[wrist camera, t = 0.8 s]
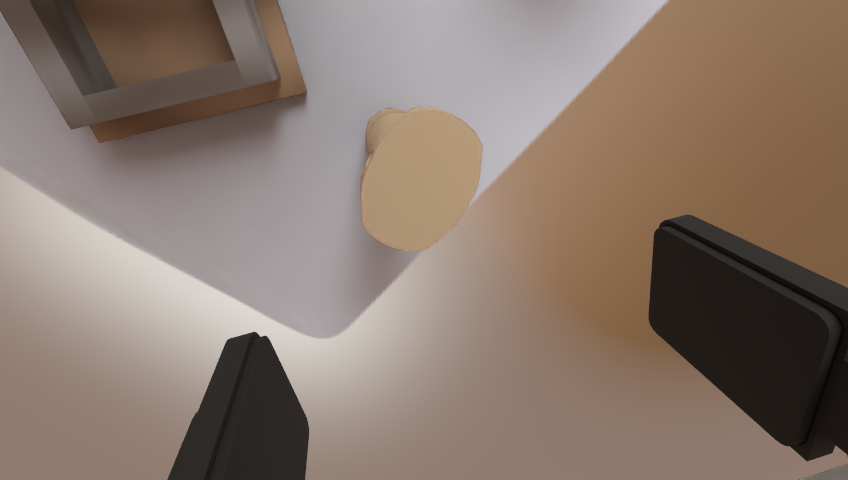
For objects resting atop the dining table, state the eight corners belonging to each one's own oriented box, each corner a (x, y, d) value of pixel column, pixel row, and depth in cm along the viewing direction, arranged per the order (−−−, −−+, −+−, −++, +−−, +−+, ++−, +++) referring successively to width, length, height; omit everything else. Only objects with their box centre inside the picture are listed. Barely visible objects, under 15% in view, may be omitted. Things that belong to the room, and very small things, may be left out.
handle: (434, 104, 31) (503, 142, 17) (398, 179, 33) (435, 264, 19) (377, 74, 29) (404, 88, 16) (342, 154, 31) (340, 228, 18)
